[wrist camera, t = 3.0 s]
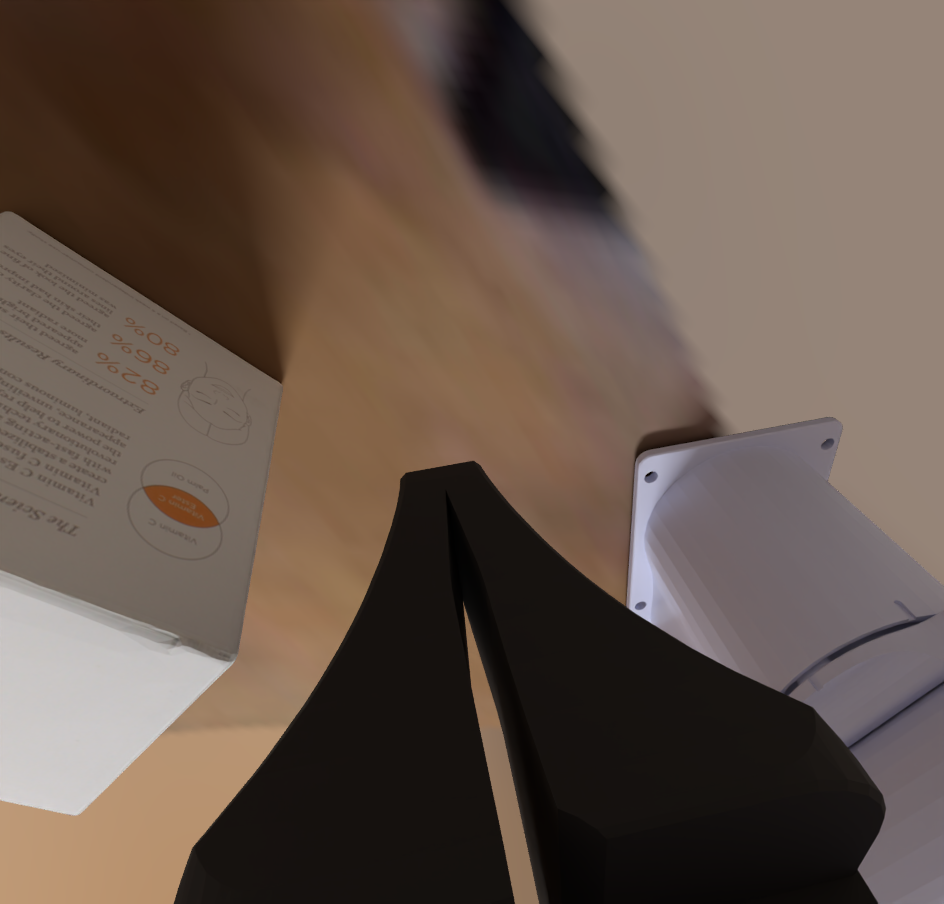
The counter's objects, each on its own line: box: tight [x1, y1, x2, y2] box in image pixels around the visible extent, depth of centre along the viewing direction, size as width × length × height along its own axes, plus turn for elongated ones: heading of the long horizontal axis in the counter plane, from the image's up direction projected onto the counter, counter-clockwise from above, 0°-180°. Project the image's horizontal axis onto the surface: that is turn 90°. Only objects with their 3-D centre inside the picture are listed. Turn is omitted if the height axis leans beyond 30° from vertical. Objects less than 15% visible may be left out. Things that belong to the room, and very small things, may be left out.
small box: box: [0, 211, 283, 815], centre depth 13 cm, size 8×6×10 cm
